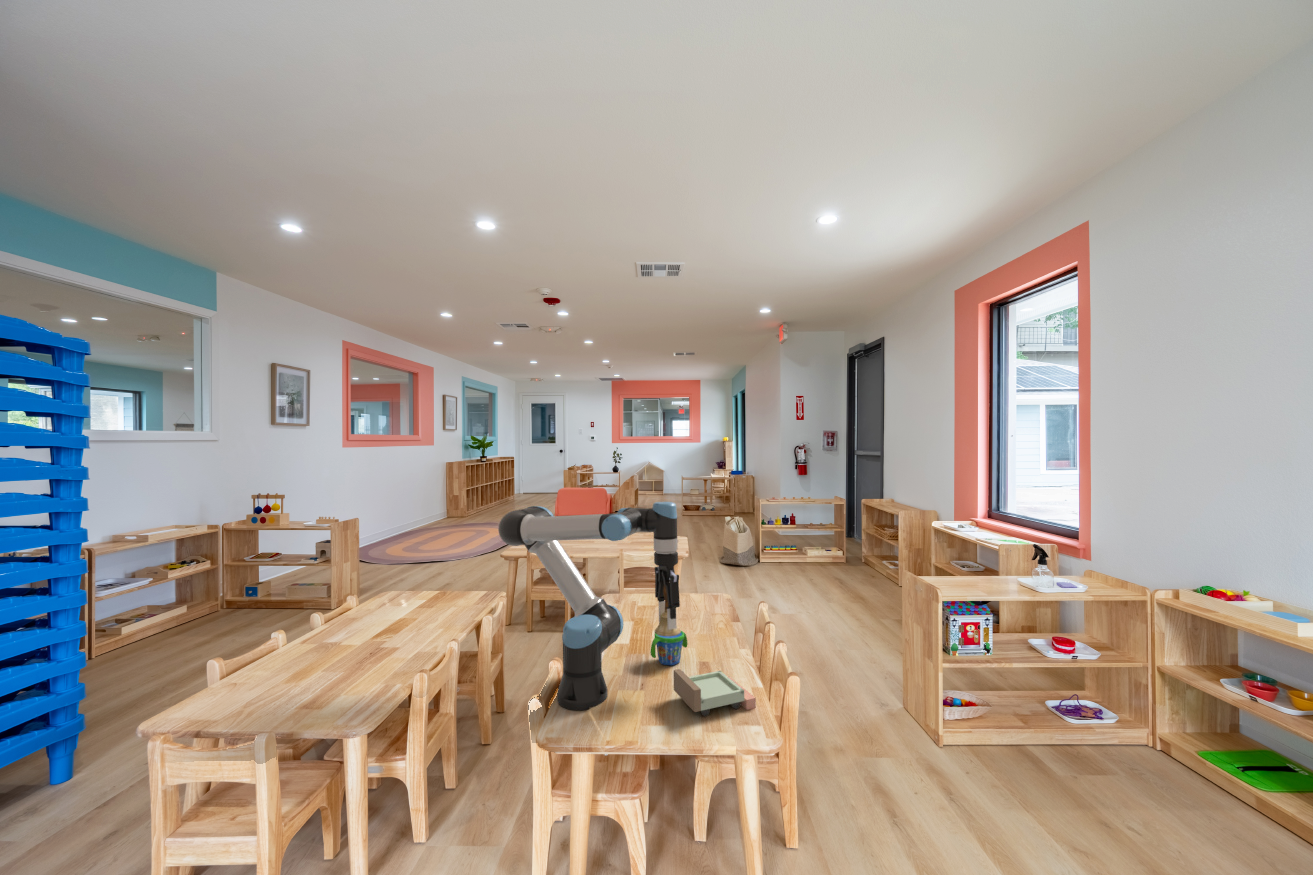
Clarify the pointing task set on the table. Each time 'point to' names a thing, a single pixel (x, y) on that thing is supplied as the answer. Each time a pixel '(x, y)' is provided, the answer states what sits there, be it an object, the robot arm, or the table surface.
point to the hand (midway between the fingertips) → (667, 624)
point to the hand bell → (663, 626)
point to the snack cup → (669, 648)
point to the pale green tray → (707, 691)
